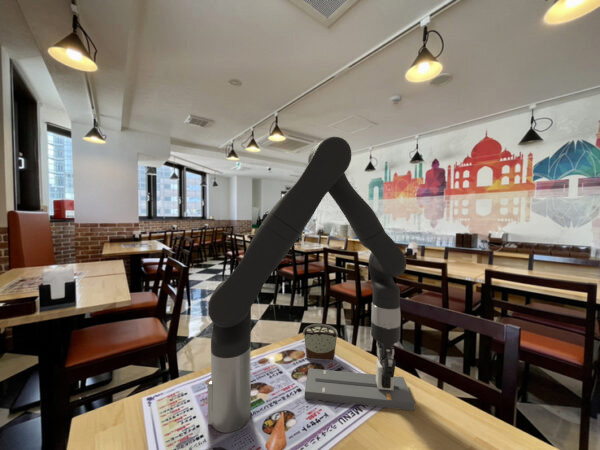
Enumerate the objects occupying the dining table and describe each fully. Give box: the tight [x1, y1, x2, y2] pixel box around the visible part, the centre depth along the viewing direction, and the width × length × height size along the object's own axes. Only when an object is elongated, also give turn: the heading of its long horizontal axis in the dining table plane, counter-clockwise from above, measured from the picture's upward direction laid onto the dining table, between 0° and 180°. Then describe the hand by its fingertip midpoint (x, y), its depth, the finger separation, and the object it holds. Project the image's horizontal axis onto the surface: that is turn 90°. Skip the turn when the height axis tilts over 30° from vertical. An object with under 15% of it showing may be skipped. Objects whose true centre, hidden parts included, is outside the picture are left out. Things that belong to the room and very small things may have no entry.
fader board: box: [304, 367, 415, 412], centre depth 68 cm, size 28×10×2 cm, turn 82°
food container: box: [302, 323, 339, 362], centre depth 86 cm, size 12×6×10 cm, turn 84°
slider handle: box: [375, 359, 394, 390], centre depth 67 cm, size 4×4×6 cm
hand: (384, 381), depth 67 cm, fingers closed on slider handle, 3 cm apart
